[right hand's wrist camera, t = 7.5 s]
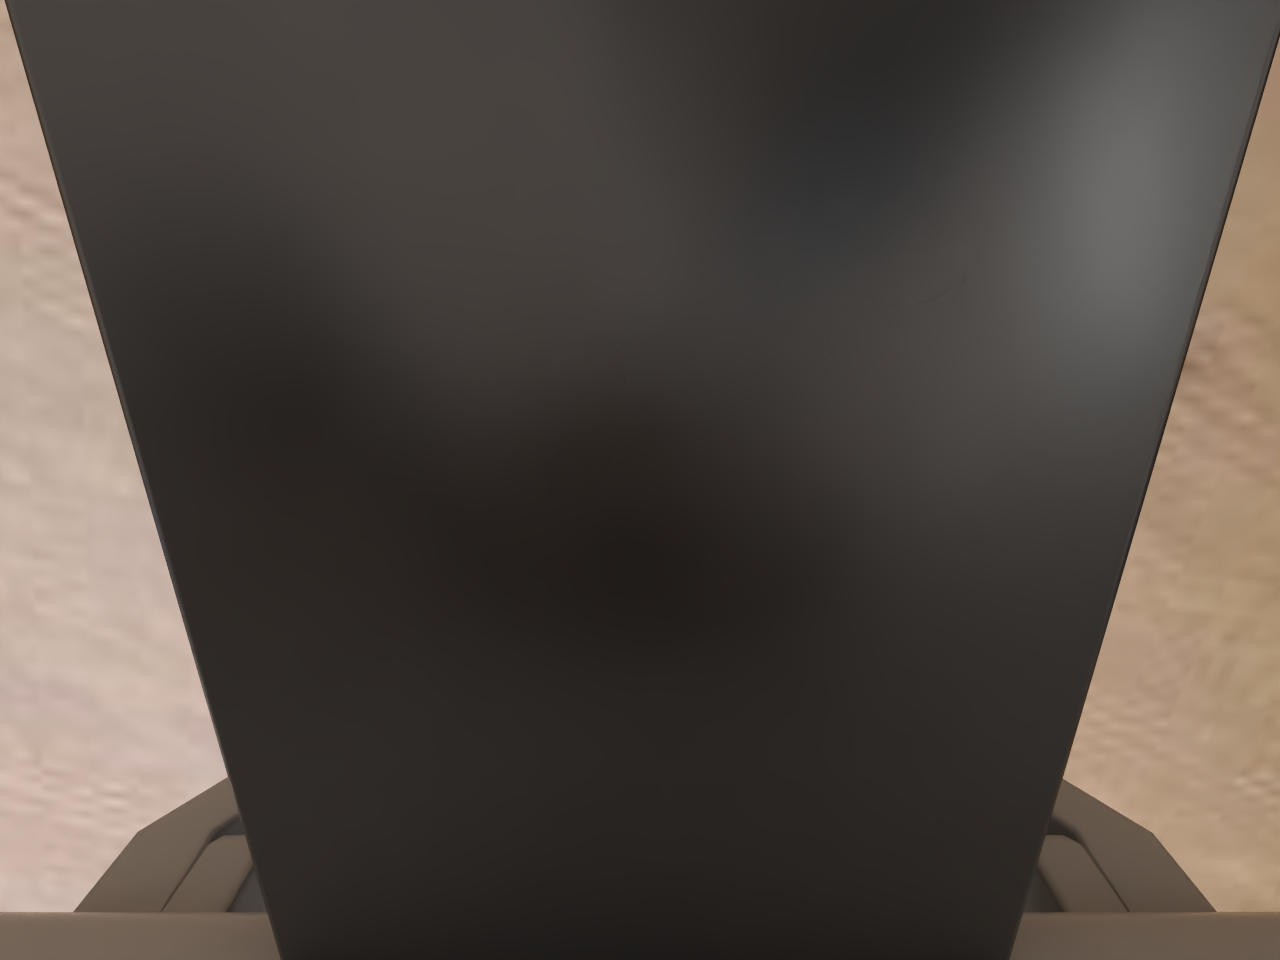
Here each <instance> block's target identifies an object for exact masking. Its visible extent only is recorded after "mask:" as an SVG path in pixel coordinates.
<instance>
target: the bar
mask: <svg viewBox="0 0 1280 960" xmlns="http://www.w3.org/2000/svg"><path fill="white" fill-rule="evenodd" d="M5 3H6V7H7V10H8V14H9V17H10V21H11V24H12V28H13V31H14V34H15V38H16V41H17V45H18V48H19V52H20V55H21V59H22V62H23V66H24V69H25V73H26V76H27V80H28V83H29V87H30V90H31V94H32V97H33V100H34V104H35V107H36V111H37V114H38V118H39V121H40V125H41V128H42V132H43V135H44V139H45V142H46V146H47V149H48V153H49V156H50V160H51V163H52V167H53V170H54V173H55V177H56V180H57V184H58V187H59V191H60V194H61V198H62V201H63V205H64V208H65V212H66V215H67V219H68V222H69V226H70V229H71V233H72V236H73V239H74V243H75V246H76V250H77V253H78V257H79V260H80V264H81V267H82V271H83V274H84V278H85V281H86V285H87V288H88V292H89V295H90V299H91V302H92V305H93V309H94V312H95V316H96V319H97V323H98V326H99V330H100V333H101V337H102V340H103V344H104V347H105V351H106V354H107V358H108V361H109V365H110V368H111V371H112V375H113V378H114V382H115V385H116V389H117V392H118V396H119V399H120V403H121V406H122V410H123V413H124V417H125V420H126V424H127V427H128V431H129V434H130V438H131V441H132V444H133V448H134V451H135V455H136V458H137V462H138V465H139V469H140V472H141V476H142V479H143V483H144V486H145V490H146V493H147V497H148V500H149V504H150V507H151V510H152V514H153V517H154V521H155V524H156V528H157V531H158V535H159V538H160V542H161V545H162V549H163V552H164V556H165V559H166V563H167V566H168V570H169V573H170V576H171V580H172V583H173V587H174V590H175V594H176V597H177V601H178V604H179V608H180V611H181V615H182V618H183V622H184V625H185V629H186V632H187V636H188V639H189V643H190V646H191V649H192V653H193V656H194V660H195V663H196V667H197V670H198V674H199V677H200V681H201V684H202V688H203V691H204V695H205V698H206V702H207V705H208V709H209V712H210V715H211V719H212V722H213V726H214V729H215V733H216V736H217V740H218V743H219V747H220V750H221V754H222V757H223V761H224V764H225V768H226V771H227V775H228V778H229V781H230V785H231V788H232V792H233V795H234V799H235V802H236V806H237V809H238V813H239V816H240V820H241V823H242V827H243V830H244V834H245V837H246V841H247V844H248V848H249V851H250V854H251V858H252V861H253V865H254V868H255V872H256V875H257V879H258V882H259V886H260V889H261V893H262V896H263V900H264V903H265V907H266V910H267V914H268V917H269V920H270V924H271V927H272V931H273V934H274V938H275V941H276V945H277V948H278V952H279V955H280V959H281V960H1009V959H1010V956H1011V952H1012V949H1013V945H1014V942H1015V939H1016V935H1017V932H1018V928H1019V925H1020V922H1021V918H1022V915H1023V911H1024V908H1025V905H1026V901H1027V898H1028V894H1029V891H1030V887H1031V884H1032V881H1033V877H1034V874H1035V870H1036V867H1037V864H1038V860H1039V857H1040V853H1041V850H1042V846H1043V843H1044V840H1045V836H1046V833H1047V829H1048V826H1049V823H1050V819H1051V816H1052V812H1053V809H1054V805H1055V802H1056V799H1057V795H1058V792H1059V788H1060V785H1061V782H1062V778H1063V775H1064V771H1065V768H1066V765H1067V761H1068V758H1069V754H1070V751H1071V747H1072V744H1073V741H1074V737H1075V734H1076V730H1077V727H1078V724H1079V720H1080V717H1081V713H1082V710H1083V706H1084V703H1085V700H1086V696H1087V693H1088V689H1089V686H1090V683H1091V679H1092V676H1093V672H1094V669H1095V665H1096V662H1097V659H1098V655H1099V652H1100V648H1101V645H1102V642H1103V638H1104V635H1105V631H1106V628H1107V624H1108V621H1109V618H1110V614H1111V611H1112V607H1113V604H1114V601H1115V597H1116V594H1117V590H1118V587H1119V584H1120V580H1121V577H1122V573H1123V570H1124V566H1125V563H1126V560H1127V556H1128V553H1129V549H1130V546H1131V543H1132V539H1133V536H1134V532H1135V529H1136V525H1137V522H1138V519H1139V515H1140V512H1141V508H1142V505H1143V502H1144V498H1145V495H1146V491H1147V488H1148V484H1149V481H1150V478H1151V474H1152V471H1153V467H1154V464H1155V461H1156V457H1157V454H1158V450H1159V447H1160V444H1161V440H1162V437H1163V433H1164V430H1165V426H1166V423H1167V420H1168V416H1169V413H1170V409H1171V406H1172V403H1173V399H1174V396H1175V392H1176V389H1177V385H1178V382H1179V379H1180V375H1181V372H1182V368H1183V365H1184V362H1185V358H1186V355H1187V351H1188V348H1189V344H1190V341H1191V338H1192V334H1193V331H1194V327H1195V324H1196V321H1197V317H1198V314H1199V310H1200V307H1201V303H1202V300H1203V297H1204V293H1205V290H1206V286H1207V283H1208V280H1209V276H1210V273H1211V269H1212V266H1213V263H1214V259H1215V256H1216V252H1217V249H1218V245H1219V242H1220V239H1221V235H1222V232H1223V228H1224V225H1225V222H1226V218H1227V215H1228V211H1229V208H1230V204H1231V201H1232V198H1233V194H1234V191H1235V187H1236V184H1237V181H1238V177H1239V174H1240V170H1241V167H1242V163H1243V160H1244V157H1245V153H1246V150H1247V146H1248V143H1249V140H1250V136H1251V133H1252V129H1253V126H1254V123H1255V119H1256V116H1257V112H1258V109H1259V105H1260V102H1261V99H1262V95H1263V92H1264V88H1265V85H1266V82H1267V78H1268V75H1269V71H1270V68H1271V64H1272V61H1273V58H1274V54H1275V51H1276V47H1277V44H1278V41H1279V37H1280V0H5Z"/></svg>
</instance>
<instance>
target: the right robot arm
mask: <svg viewBox="0 0 1280 960" xmlns="http://www.w3.org/2000/svg"><path fill="white" fill-rule="evenodd" d="M0 960H281V959H280V955H279V952H278V948H277V945H276V941H275V938H274V934H273V931H272V927H271V924H270V920H269V917H268V914H267V910H266V907H265V903H264V900H263V896H262V893H261V889H260V886H259V882H258V879H257V875H256V872H255V868H254V865H253V861H252V858H251V854H250V851H249V848H248V844H247V841H246V837H245V834H244V830H243V827H242V823H241V820H240V816H239V813H238V809H237V806H236V802H235V799H234V795H233V792H232V788H231V785H230V781H229V778H228V777H227V778H226V779H224V780H222V781H221V782H219V783H218V784H216V785H214V786H213V787H211V788H209V789H208V790H206V791H204V792H203V793H201V794H199V795H198V796H196V797H195V798H193V799H191V800H190V801H188V802H186V803H185V804H183V805H181V806H180V807H178V808H176V809H175V810H173V811H171V812H170V813H168V814H167V815H165V816H163V817H162V818H160V819H158V820H157V821H155V822H153V823H152V824H150V825H148V826H147V827H145V828H144V829H142V830H140V831H139V832H137V834H136V835H135V836H134V837H133V839H132V840H131V841H130V842H129V844H128V845H127V846H126V847H125V848H124V850H123V851H122V852H121V853H120V855H119V856H118V857H117V858H116V860H115V861H114V862H113V863H112V865H111V866H110V867H109V868H108V870H107V871H106V872H105V873H104V875H103V876H102V877H101V878H100V880H99V881H98V882H97V883H96V884H95V886H94V887H93V888H92V889H91V891H90V892H89V893H88V894H87V896H86V897H85V898H84V899H83V901H82V902H81V903H80V904H79V906H78V907H77V908H76V909H75V911H74V912H0ZM1009 960H1280V912H1216V910H1215V909H1214V908H1213V907H1212V905H1211V904H1210V903H1209V902H1208V900H1207V899H1206V898H1205V897H1204V896H1203V894H1202V893H1201V892H1200V891H1199V889H1198V888H1197V887H1196V886H1195V885H1194V883H1193V882H1192V881H1191V880H1190V878H1189V877H1188V876H1187V875H1186V874H1185V872H1184V871H1183V870H1182V869H1181V867H1180V866H1179V865H1178V864H1177V862H1176V861H1175V860H1174V859H1173V858H1172V856H1171V855H1170V854H1169V853H1168V851H1167V850H1166V849H1165V848H1164V847H1163V845H1162V844H1161V843H1160V842H1159V840H1158V839H1157V838H1156V837H1155V835H1154V834H1153V833H1152V832H1150V831H1148V830H1147V829H1145V828H1143V827H1142V826H1140V825H1138V824H1137V823H1135V822H1133V821H1132V820H1130V819H1128V818H1127V817H1125V816H1123V815H1122V814H1120V813H1118V812H1117V811H1115V810H1113V809H1112V808H1110V807H1109V806H1107V805H1105V804H1104V803H1102V802H1100V801H1099V800H1097V799H1095V798H1094V797H1092V796H1090V795H1089V794H1087V793H1085V792H1084V791H1082V790H1080V789H1079V788H1077V787H1075V786H1074V785H1072V784H1070V783H1069V782H1067V781H1065V780H1064V779H1062V782H1061V785H1060V788H1059V792H1058V795H1057V799H1056V802H1055V805H1054V809H1053V812H1052V816H1051V819H1050V823H1049V826H1048V829H1047V833H1046V836H1045V840H1044V843H1043V846H1042V850H1041V853H1040V857H1039V860H1038V864H1037V867H1036V870H1035V874H1034V877H1033V881H1032V884H1031V887H1030V891H1029V894H1028V898H1027V901H1026V905H1025V908H1024V911H1023V915H1022V918H1021V922H1020V925H1019V928H1018V932H1017V935H1016V939H1015V942H1014V945H1013V949H1012V952H1011V956H1010V959H1009Z"/></svg>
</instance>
